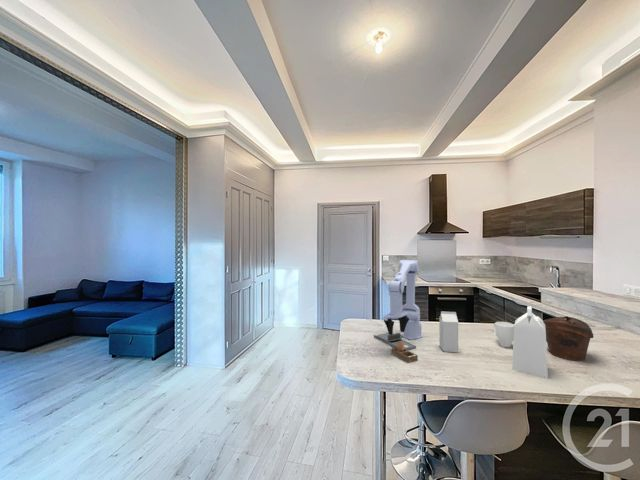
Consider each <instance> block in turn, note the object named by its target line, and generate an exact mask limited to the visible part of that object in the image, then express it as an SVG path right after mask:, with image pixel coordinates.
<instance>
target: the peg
mask: <svg viewBox="0 0 640 480" xmlns="http://www.w3.org/2000/svg"><path fill="white" fill-rule="evenodd" d="M396 342H397V351H398V352H403V351H404V342H401V341H398V340H397V341H396Z"/></svg>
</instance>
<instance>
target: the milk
mask: <svg viewBox="0 0 640 480" xmlns="http://www.w3.org/2000/svg"><path fill="white" fill-rule="evenodd" d="M543 321H544V320H542V318H541V317H539V316H538V315H535V314H534V313H533V308H532V306H529V305H527V308H526V313H524V314H522V315H521V316H519V317H517V319H515V321H514V340H513V342H512V345H513V347H512V366H511V370H513V371H515V372H516V371H517V372H519V373H520V372H521V373H525V374H529V375H532V376H537V377H541V378H546V379H548V377H549V376H548V373H549V372H548V353H547V349H548V348H547V342H546V328H545V324H544V323H543Z"/></svg>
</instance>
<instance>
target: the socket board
mask: <svg viewBox="0 0 640 480" xmlns="http://www.w3.org/2000/svg"><path fill="white" fill-rule="evenodd" d="M390 350H391V352H390V353H391V354H392V355H393V356H394V357H396V358H399V359H400V360H402V361H404V362H405V363H407V364H411V363H414V362H416V361H419V360H418V359H419V358H418V355H417V354H416V353H414V352H412V351H410V350H406V349H404V351H403V352H398V351H397V347H396V348H393V347H392V348H391V349H390Z"/></svg>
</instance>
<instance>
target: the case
mask: <svg viewBox="0 0 640 480" xmlns="http://www.w3.org/2000/svg"><path fill="white" fill-rule="evenodd" d="M542 321H543V323H544V324H545V328H546V345H547V349H548V352H549V353H550V354H551V355H552V356H555V357H558V358H561V359H565V360H569V361H579V362H580V361H583V360H586V357H587V352H588V348H589V344H590V341H591V339H593V338H594V337H595V336H594V333H593V330H592V328H591V327H590V325H589V324H588V323H586V322H584V321H583V320H582V319H578V318H575V317H572V316H558V317H551V318H548V319H544V320H542Z"/></svg>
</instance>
